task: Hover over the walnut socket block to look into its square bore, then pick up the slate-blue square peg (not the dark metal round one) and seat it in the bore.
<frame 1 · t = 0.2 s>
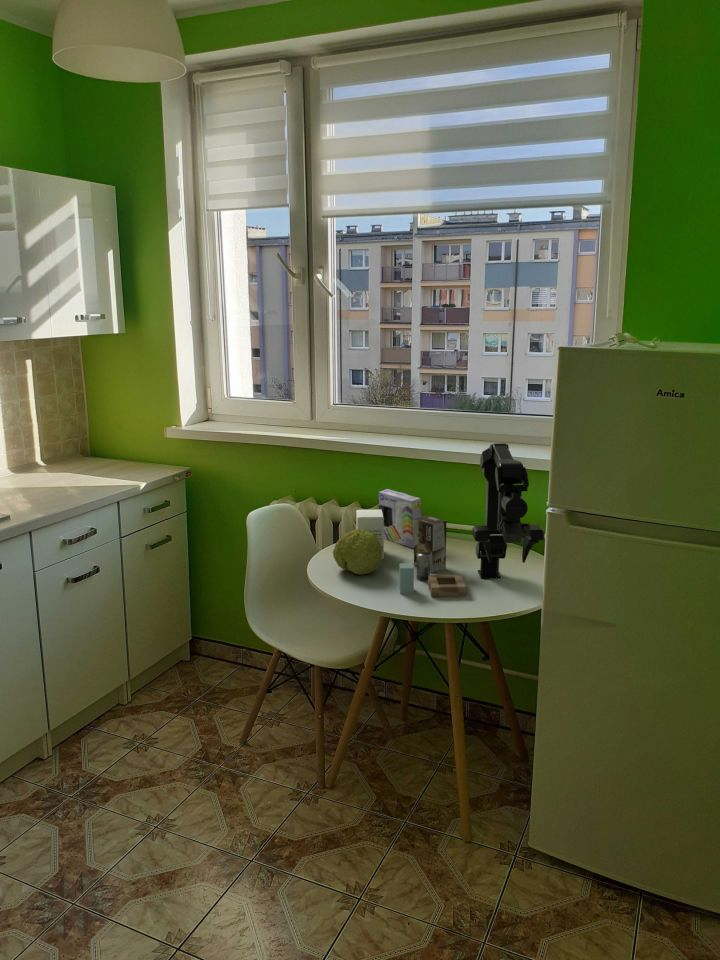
hand: (506, 562, 213), 14 cm above the table, fingers open, 9 cm apart
fruit: (358, 571, 247), on the table
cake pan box: (399, 542, 275), on the table
round peg: (423, 578, 241), on the table
coffee box: (429, 567, 250), on the table
socket block: (446, 590, 231), on the table
supplement box: (369, 555, 262), on the table
square peg: (406, 591, 231), on the table
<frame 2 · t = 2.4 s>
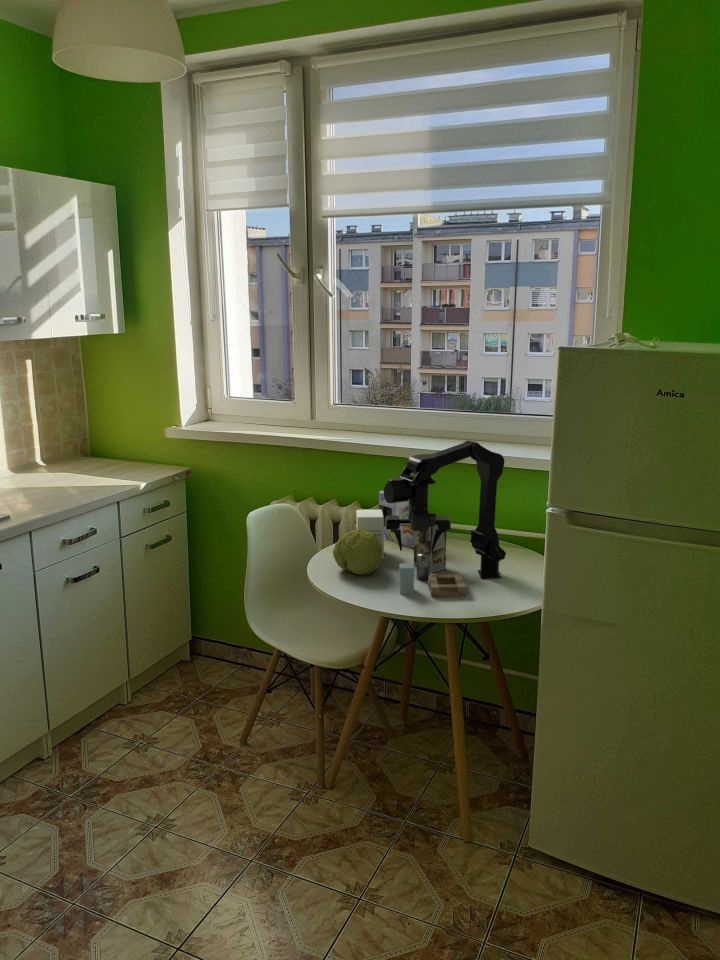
hand: (416, 550, 227), 13 cm above the table, fingers open, 9 cm apart
nothing on the table moved.
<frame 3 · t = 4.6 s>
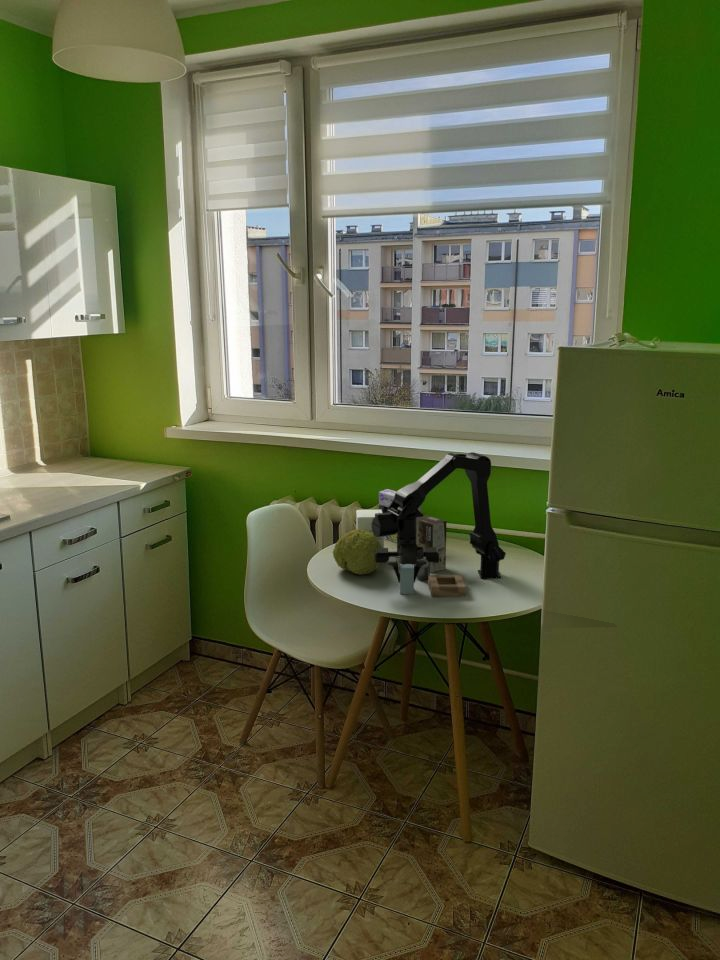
hand: (406, 582, 230), 3 cm above the table, fingers closed on square peg, 4 cm apart
square peg: (406, 591, 231), on the table, touching gripper
everything else where it was.
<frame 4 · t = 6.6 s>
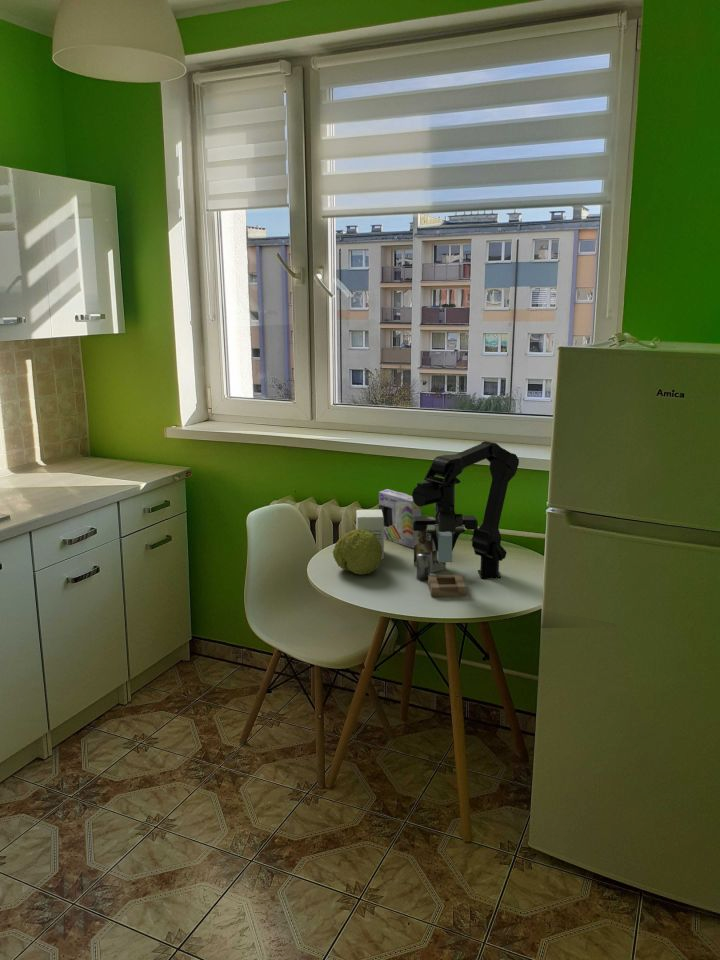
hand: (444, 550, 228), 13 cm above the table, fingers closed on square peg, 4 cm apart
square peg: (444, 559, 229), point 10 cm above the table, touching gripper
everything else where it was.
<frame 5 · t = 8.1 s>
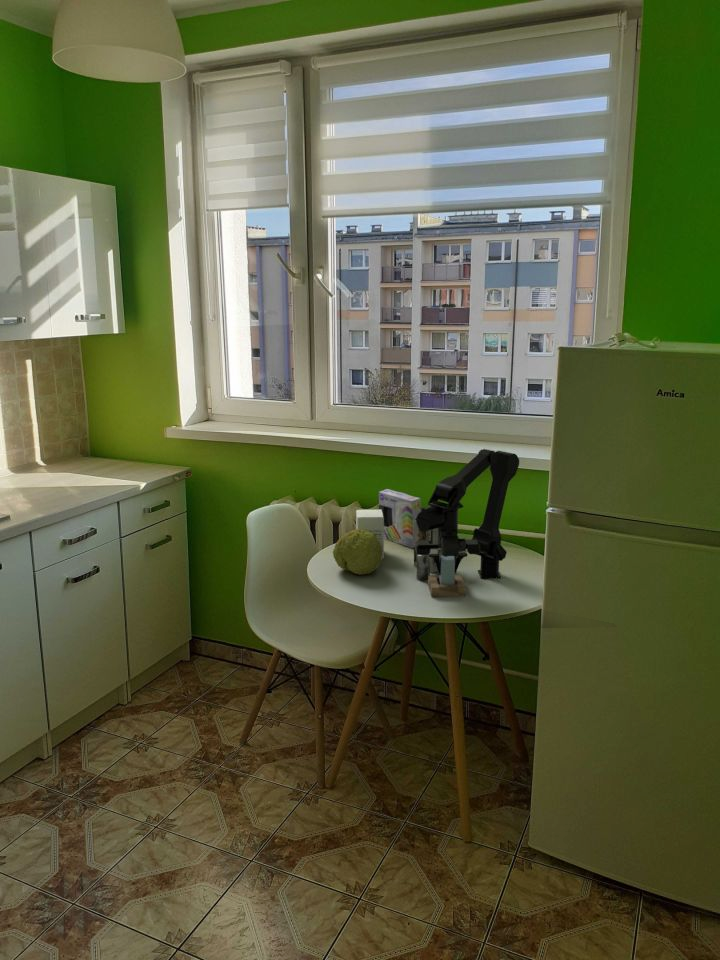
hand: (446, 574, 230), 5 cm above the table, fingers closed on square peg, 4 cm apart
square peg: (446, 583, 230), point 2 cm above the table, touching gripper
everything else where it was.
when the fingers open (4 cm above the table, at t = 9.0 s): square peg drops 1 cm, resting on socket block.
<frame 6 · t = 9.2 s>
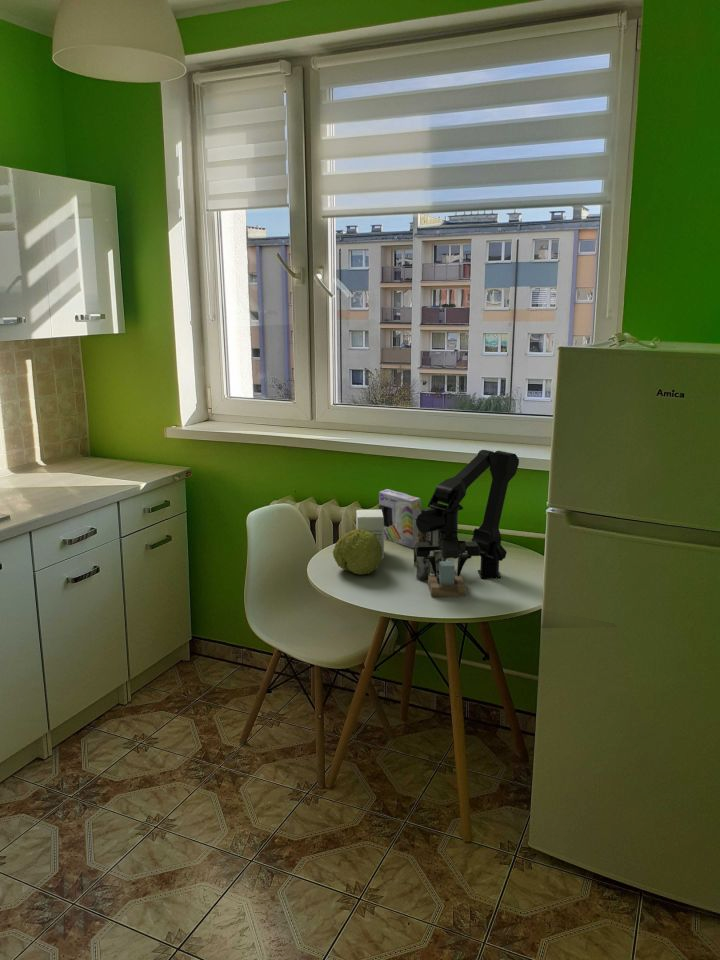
hand: (446, 576, 230), 4 cm above the table, fingers open, 6 cm apart
square peg: (446, 588, 231), resting on socket block
everything else where it was.
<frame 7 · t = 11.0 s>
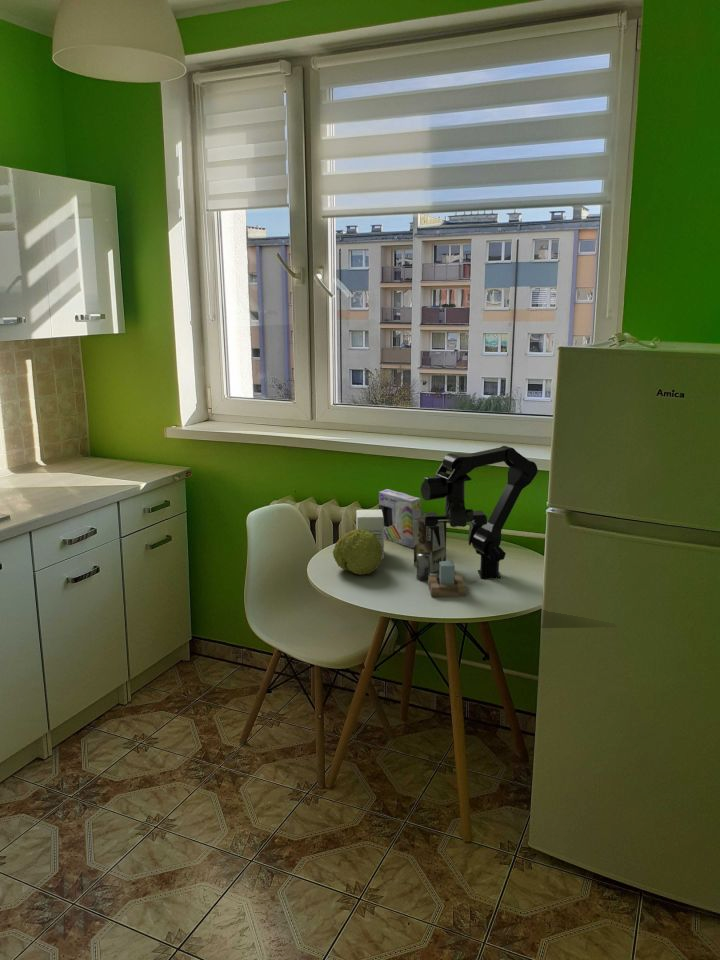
hand: (454, 545, 234), 12 cm above the table, fingers open, 9 cm apart
nothing on the table moved.
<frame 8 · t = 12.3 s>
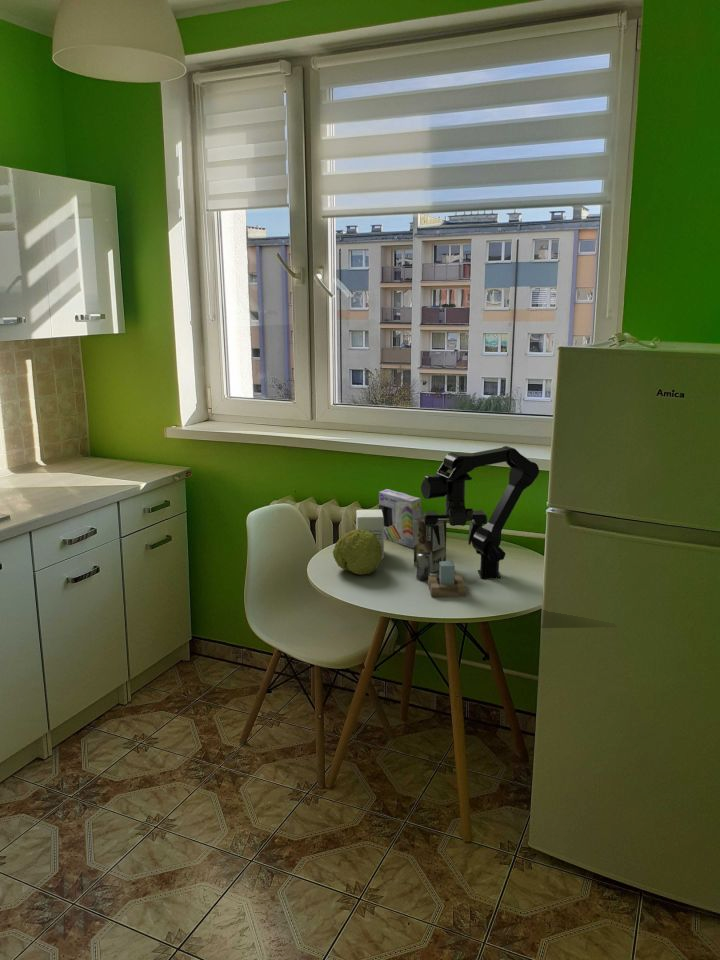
hand: (454, 544, 235), 12 cm above the table, fingers open, 9 cm apart
nothing on the table moved.
at the end: square peg 0.0 cm off-centre on the socket block, point 0.5 cm above the socket block's base; square peg tilted 0°; round peg moved 0.0 cm from its start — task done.
